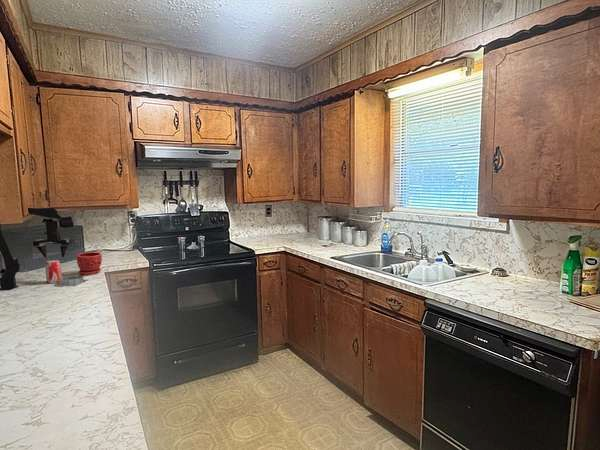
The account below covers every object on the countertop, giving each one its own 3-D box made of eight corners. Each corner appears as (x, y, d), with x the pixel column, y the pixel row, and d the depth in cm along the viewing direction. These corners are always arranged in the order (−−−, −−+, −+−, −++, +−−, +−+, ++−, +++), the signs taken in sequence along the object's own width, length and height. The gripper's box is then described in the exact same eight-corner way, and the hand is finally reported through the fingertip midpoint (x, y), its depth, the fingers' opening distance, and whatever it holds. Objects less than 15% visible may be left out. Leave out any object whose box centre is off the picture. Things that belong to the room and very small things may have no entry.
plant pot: (72, 275, 216) (71, 255, 215) (87, 270, 229) (85, 251, 228) (94, 276, 215) (92, 256, 214) (107, 270, 228) (106, 252, 227)
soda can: (44, 282, 201) (42, 261, 200) (57, 279, 207) (55, 259, 206) (51, 284, 198) (49, 262, 197) (64, 281, 204) (63, 260, 203)
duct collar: (76, 286, 195) (75, 280, 195) (55, 286, 195) (54, 280, 195) (87, 280, 206) (87, 275, 206) (68, 280, 206) (67, 275, 206)
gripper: (76, 227, 212) (79, 253, 214) (42, 228, 210) (45, 254, 212) (66, 230, 201) (69, 258, 203) (30, 231, 199) (33, 259, 201)
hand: (54, 257), depth 205 cm, fingers open, 9 cm apart
